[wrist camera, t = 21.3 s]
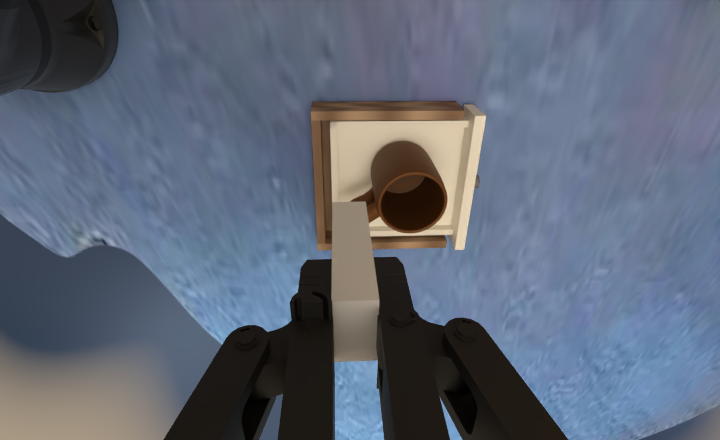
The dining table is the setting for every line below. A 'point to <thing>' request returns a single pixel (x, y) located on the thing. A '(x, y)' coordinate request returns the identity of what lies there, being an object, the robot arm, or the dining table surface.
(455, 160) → the drawer
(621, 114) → the dining table surface
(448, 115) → the frame
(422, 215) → the mug
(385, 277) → the robot arm
